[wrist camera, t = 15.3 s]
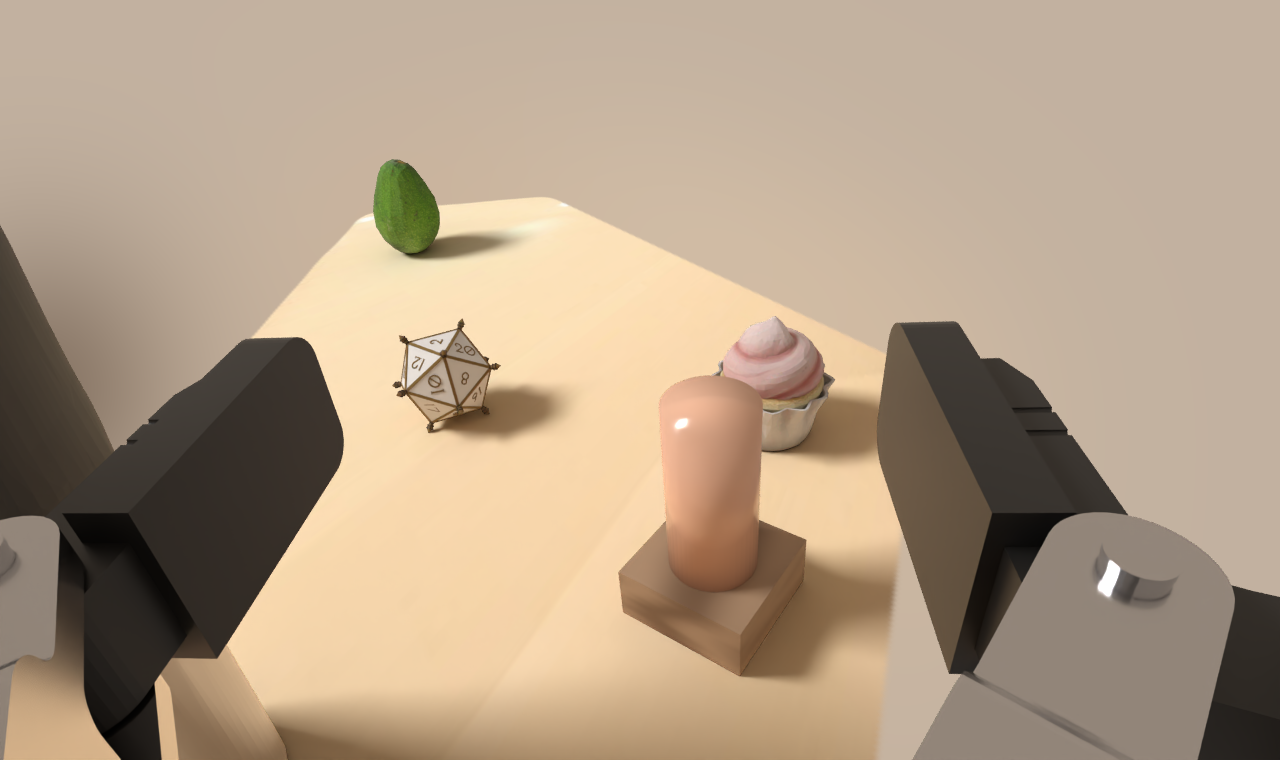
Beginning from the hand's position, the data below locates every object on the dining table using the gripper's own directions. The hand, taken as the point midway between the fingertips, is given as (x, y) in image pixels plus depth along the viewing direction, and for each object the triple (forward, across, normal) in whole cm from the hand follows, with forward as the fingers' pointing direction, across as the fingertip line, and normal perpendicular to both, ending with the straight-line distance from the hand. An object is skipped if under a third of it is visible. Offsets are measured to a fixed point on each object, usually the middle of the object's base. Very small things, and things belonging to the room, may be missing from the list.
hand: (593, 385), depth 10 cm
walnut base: (+22, -2, +30) cm, 37 cm away
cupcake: (+39, -7, +30) cm, 50 cm away
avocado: (+78, +36, +30) cm, 91 cm away
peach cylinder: (+22, -2, +26) cm, 34 cm away
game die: (+41, +20, +30) cm, 55 cm away
